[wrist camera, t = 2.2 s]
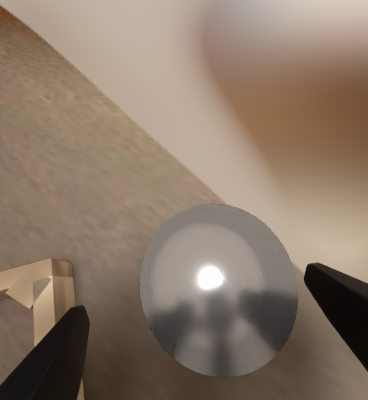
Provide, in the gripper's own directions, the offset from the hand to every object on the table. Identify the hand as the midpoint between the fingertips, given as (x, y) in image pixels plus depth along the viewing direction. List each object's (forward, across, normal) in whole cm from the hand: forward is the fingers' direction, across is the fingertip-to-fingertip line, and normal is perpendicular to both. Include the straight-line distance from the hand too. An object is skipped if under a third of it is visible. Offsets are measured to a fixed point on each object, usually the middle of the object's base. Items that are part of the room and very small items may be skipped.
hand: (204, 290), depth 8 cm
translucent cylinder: (+6, 0, +6) cm, 8 cm away
